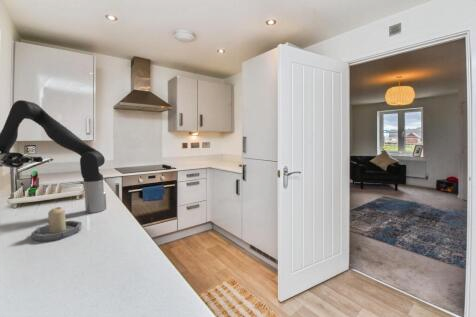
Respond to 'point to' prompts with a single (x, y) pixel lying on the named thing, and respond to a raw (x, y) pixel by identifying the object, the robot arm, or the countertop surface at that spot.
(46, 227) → the saucer
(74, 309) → the countertop surface
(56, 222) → the candle
